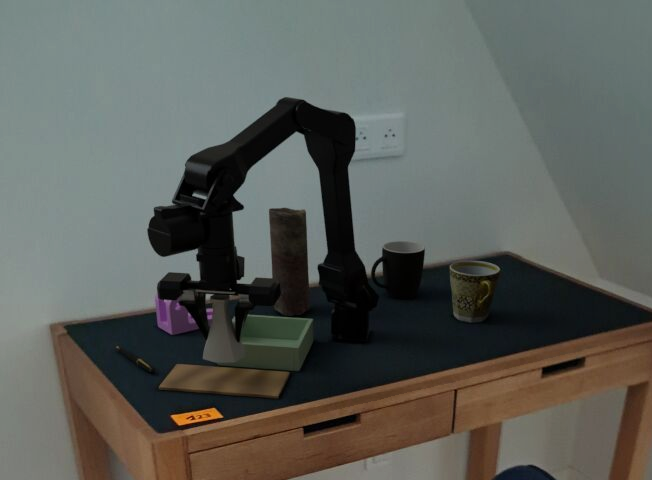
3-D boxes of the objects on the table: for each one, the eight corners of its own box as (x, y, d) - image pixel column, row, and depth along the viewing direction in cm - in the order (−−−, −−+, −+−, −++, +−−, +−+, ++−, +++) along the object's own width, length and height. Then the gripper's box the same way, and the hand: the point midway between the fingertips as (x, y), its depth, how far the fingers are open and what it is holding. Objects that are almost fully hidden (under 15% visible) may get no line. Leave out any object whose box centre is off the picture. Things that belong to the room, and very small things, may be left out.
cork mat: (289, 374, 149) (289, 371, 148) (277, 398, 140) (277, 395, 140) (177, 366, 150) (176, 363, 150) (158, 389, 142) (158, 386, 142)
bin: (313, 341, 162) (313, 318, 160) (299, 371, 150) (298, 347, 148) (237, 335, 163) (236, 313, 161) (217, 365, 151) (215, 341, 149)
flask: (237, 366, 139) (233, 306, 134) (195, 362, 140) (189, 302, 135) (252, 350, 145) (248, 291, 140) (211, 346, 146) (206, 287, 141)
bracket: (172, 335, 162) (168, 298, 159) (158, 326, 166) (153, 290, 162) (231, 321, 170) (228, 286, 166) (216, 313, 173) (213, 278, 169)
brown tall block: (266, 308, 176) (261, 206, 165) (295, 302, 180) (293, 202, 169) (286, 319, 171) (283, 215, 160) (317, 312, 175) (316, 210, 164)
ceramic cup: (438, 310, 178) (442, 262, 172) (482, 307, 181) (487, 259, 175) (463, 332, 168) (467, 281, 162) (509, 328, 170) (515, 278, 165)
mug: (408, 285, 191) (411, 239, 186) (430, 297, 185) (433, 249, 179) (361, 292, 186) (362, 245, 181) (381, 305, 180) (382, 256, 174)
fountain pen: (113, 350, 156) (112, 342, 155) (119, 348, 156) (118, 340, 155) (150, 376, 147) (149, 367, 146) (157, 374, 147) (156, 366, 146)
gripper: (285, 233, 138) (288, 327, 147) (172, 227, 140) (182, 320, 149) (271, 252, 129) (275, 351, 138) (150, 245, 131) (162, 343, 140)
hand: (223, 340), depth 141 cm, fingers closed on flask, 5 cm apart
